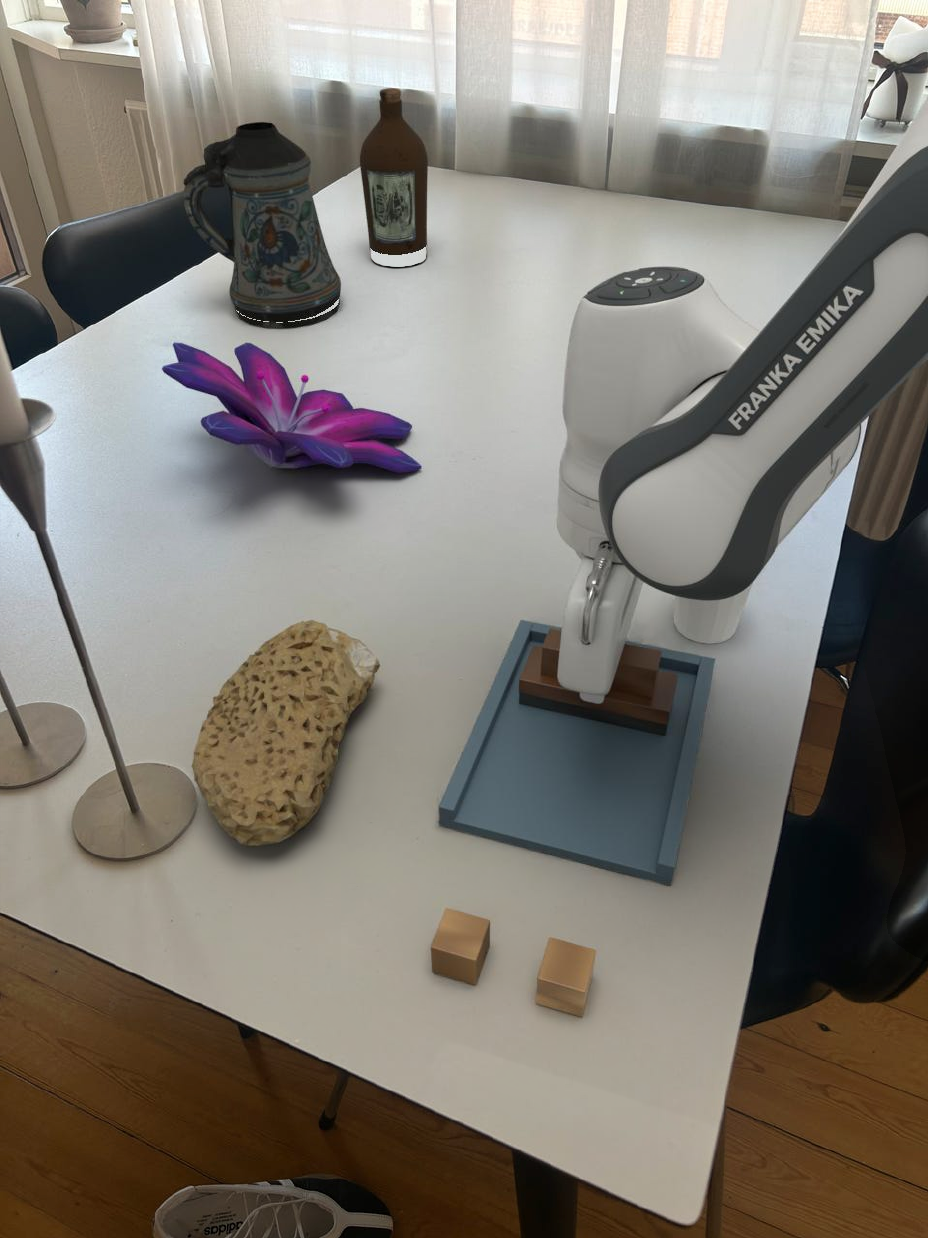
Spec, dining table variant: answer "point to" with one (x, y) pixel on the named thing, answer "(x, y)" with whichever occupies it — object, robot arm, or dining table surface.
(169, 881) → the dining table surface
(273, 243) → the beer stein
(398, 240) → the olive oil
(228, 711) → the sponge
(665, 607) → the dining table surface
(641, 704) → the brush
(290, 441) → the decorative flower
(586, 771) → the tray
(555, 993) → the light brown wooden cube
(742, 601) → the white cup
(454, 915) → the brown wooden cube
